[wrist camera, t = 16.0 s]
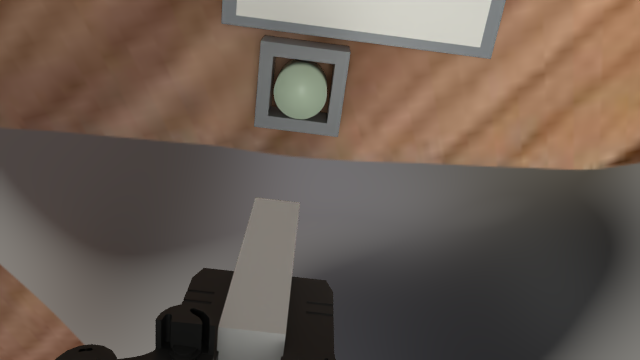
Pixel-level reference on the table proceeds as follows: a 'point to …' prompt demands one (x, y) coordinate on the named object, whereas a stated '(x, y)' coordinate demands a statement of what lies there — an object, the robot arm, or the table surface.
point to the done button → (301, 89)
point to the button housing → (310, 52)
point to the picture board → (380, 21)
